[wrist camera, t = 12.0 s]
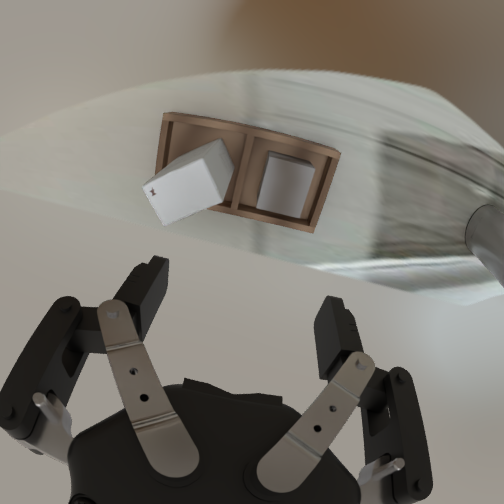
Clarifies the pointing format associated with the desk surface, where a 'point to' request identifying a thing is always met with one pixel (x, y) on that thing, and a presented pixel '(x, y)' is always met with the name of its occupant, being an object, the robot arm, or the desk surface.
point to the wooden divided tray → (258, 168)
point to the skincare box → (191, 182)
